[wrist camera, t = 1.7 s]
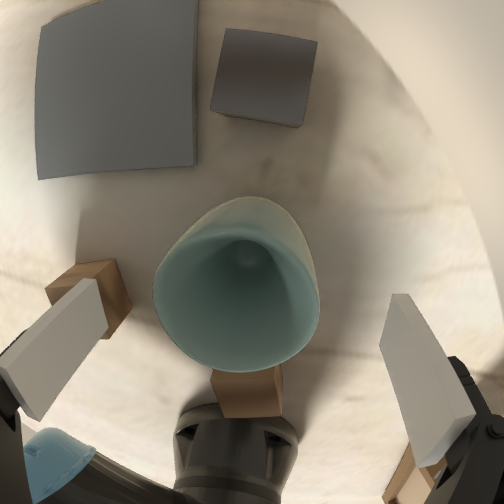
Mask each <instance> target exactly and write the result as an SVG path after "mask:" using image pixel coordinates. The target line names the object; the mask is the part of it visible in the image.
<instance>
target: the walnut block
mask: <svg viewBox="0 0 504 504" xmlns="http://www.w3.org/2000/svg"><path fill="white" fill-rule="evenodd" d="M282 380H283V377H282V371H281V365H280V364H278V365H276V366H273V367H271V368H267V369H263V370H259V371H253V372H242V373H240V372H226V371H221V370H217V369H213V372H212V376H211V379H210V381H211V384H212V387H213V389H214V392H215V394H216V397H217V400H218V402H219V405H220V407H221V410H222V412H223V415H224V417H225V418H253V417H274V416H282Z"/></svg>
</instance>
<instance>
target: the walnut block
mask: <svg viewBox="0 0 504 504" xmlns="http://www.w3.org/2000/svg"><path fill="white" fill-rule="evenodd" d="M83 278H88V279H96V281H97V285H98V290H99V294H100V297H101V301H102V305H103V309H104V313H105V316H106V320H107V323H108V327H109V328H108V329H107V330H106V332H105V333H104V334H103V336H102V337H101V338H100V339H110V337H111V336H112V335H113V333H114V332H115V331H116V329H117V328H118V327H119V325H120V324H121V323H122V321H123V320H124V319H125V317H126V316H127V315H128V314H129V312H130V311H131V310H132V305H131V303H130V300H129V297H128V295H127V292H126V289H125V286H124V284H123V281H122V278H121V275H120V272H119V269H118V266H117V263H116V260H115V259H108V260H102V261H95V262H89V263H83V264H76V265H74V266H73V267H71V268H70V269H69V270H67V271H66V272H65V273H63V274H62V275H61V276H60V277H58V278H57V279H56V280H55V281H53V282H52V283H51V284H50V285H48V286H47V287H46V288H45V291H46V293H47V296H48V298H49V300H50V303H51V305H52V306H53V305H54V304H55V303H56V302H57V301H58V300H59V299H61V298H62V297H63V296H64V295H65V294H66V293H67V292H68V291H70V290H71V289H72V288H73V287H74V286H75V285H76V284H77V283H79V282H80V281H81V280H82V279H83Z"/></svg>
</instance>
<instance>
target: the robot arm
mask: <svg viewBox="0 0 504 504" xmlns="http://www.w3.org/2000/svg"><path fill="white" fill-rule="evenodd" d="M108 328H109V327H108V323H107V320H106V316H105V313H104V309H103V305H102V301H101V297H100V294H99V290H98V285H97V281H96V279H88V278H83V279H82V280H81V281H80V282H79V283H77V284H76V285H75V286H74V287H73V288H72V289H71V290H70V291H68V292H67V293H66V294H65V295H64V296H63V297H62V298H61V299H59V300H58V301H57V302H56V303H55V304H54V305H53V306H52V307H51V308H50V309H49V310H48V311H46V312H45V313H44V314H43V315H42V316H41V317H40V318H39V319H38V320H37V321H36V322H35V323H34V324H33V325H32V326H31V327H30V328H28V329H26V330H25V331H23V332H22V333H21V334H20V335H19V336H18V337H17V338H16V340H14V341H13V342H12V343H11V344H10V346H8V347H7V348H6V349H5V350H4V351H3V352H2V353H1V354H0V504H281V494H282V491H283V488H284V486H285V484H286V482H287V479H288V477H289V475H290V473H291V470H292V468H293V465H294V463H295V461H296V458H297V454H298V437H297V433H296V431H295V430H294V428H293V427H292V426H291V425H290V424H289V423H288V422H287V421H285V420H284V419H282V418H281V417H279V416H274V417H253V418H225V417H224V415H223V412H222V410H221V407H220V405H219V404H209V405H203V406H199V407H195V408H193V409H190V410H188V411H187V412H185V413H184V414H183V415H182V416H181V417H180V418H179V420H178V422H177V425H176V428H175V431H174V435H173V447H174V460H175V471H176V480H175V484H174V487H173V489H170V488H168V487H166V486H163V485H161V484H159V483H157V482H154V481H152V480H150V479H148V478H146V477H144V476H142V475H140V474H138V473H136V472H134V471H132V470H130V469H128V468H126V467H124V466H122V465H120V464H118V463H116V462H115V461H113V460H111V459H109V458H108V457H106V456H104V455H102V454H101V453H99V452H97V451H96V448H94V447H92V446H90V445H86V444H84V443H82V442H80V441H79V440H77V439H75V438H74V437H72V436H70V435H69V434H67V433H66V432H64V431H62V430H60V429H58V428H52V427H51V428H45V429H43V430H41V431H39V432H38V433H37V434H36V435H35V436H34V437H33V438H31V439H30V440H29V441H28V443H27V444H26V445H25V446H24V447H23V443H22V434H21V420H20V414H19V412H18V411H17V409H18V408H19V407H20V406H21V408H22V409H23V411H24V412H25V414H26V415H27V416H29V417H31V418H32V419H34V420H36V421H39V422H40V421H41V420H42V418H43V417H44V415H45V414H46V412H47V411H48V409H49V408H50V406H51V405H52V403H53V402H54V401H55V399H56V398H57V396H58V395H59V393H60V392H61V391H62V389H63V388H64V386H65V385H66V384H67V382H68V381H69V379H70V378H71V377H72V375H73V374H74V373H75V371H76V370H77V369H78V367H79V366H80V364H81V363H82V362H83V360H84V359H85V358H86V356H87V355H88V354H89V352H90V351H91V350H92V349H93V347H94V346H95V345H96V343H97V342H98V341H99V339H100V338H101V337H102V336H103V334H104V333H105V332H106V330H107V329H108ZM379 347H380V350H381V352H382V355H383V358H384V361H385V364H386V367H387V370H388V373H389V375H390V378H391V381H392V384H393V388H394V391H395V394H396V397H397V400H398V403H399V406H400V410H401V413H402V416H403V420H404V423H405V426H406V430H407V433H408V437H409V441H410V444H411V448H412V452H413V456H414V459H415V463H416V467H417V468H422V467H426V466H430V465H434V464H437V463H438V462H439V461H440V459H441V458H442V457H443V456H444V455H445V458H446V461H447V463H446V464H445V465H444V466H443V467H442V468H441V470H440V471H439V472H438V473H437V474H436V475H435V476H434V477H433V478H434V479H436V478H437V477H438V476H439V477H438V479H437V480H436V482H435V484H434V486H433V488H432V490H431V492H430V493H429V495H428V497H427V499H426V500H425V502H424V504H504V418H503V417H502V416H500V415H495V414H491V412H490V410H489V408H488V406H487V404H486V402H485V400H484V398H483V396H482V395H481V393H480V391H479V389H478V387H477V385H475V382H474V380H473V378H472V376H471V377H470V373H469V371H468V369H467V368H466V366H465V364H464V363H462V362H461V361H460V360H459V359H458V358H457V357H456V356H451V357H447V356H446V354H445V353H444V351H443V349H442V347H441V346H440V344H439V342H438V341H437V339H436V337H435V335H434V334H433V332H432V330H431V329H430V327H429V326H428V324H427V322H426V321H425V319H424V317H423V316H422V314H421V313H420V311H419V309H418V308H417V306H416V305H415V303H414V302H413V300H412V299H411V297H410V296H409V294H392V298H391V303H390V307H389V311H388V315H387V319H386V322H385V326H384V330H383V333H382V337H381V340H380V344H379Z"/></svg>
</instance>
